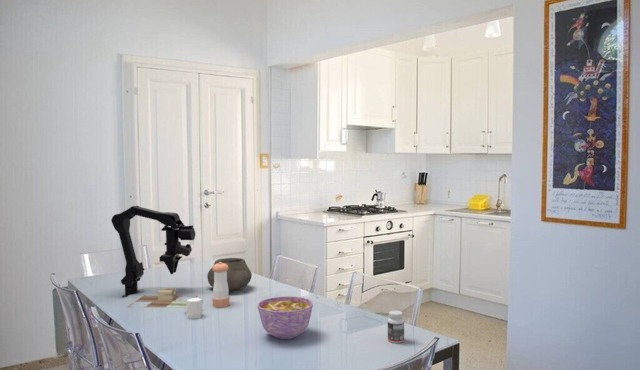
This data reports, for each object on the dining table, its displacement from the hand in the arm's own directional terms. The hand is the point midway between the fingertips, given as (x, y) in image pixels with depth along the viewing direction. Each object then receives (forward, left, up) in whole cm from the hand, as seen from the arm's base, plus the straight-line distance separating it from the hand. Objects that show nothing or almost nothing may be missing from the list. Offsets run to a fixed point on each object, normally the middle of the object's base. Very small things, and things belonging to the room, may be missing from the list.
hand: (173, 273), depth 240 cm
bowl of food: (+53, +59, -11) cm, 80 cm away
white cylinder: (+31, +19, -11) cm, 38 cm away
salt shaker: (+15, +26, -11) cm, 32 cm away
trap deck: (+14, 0, -11) cm, 17 cm away
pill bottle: (+58, +98, -11) cm, 114 cm away
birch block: (+9, 0, -10) cm, 13 cm away
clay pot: (-11, +24, -11) cm, 29 cm away
